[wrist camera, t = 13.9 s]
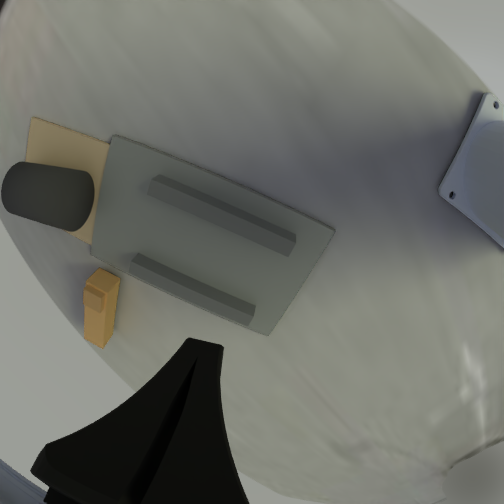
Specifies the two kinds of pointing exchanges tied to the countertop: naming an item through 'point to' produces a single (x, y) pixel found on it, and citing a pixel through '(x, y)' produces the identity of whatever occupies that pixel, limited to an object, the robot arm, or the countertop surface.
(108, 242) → the board
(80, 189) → the dark grey cylinder
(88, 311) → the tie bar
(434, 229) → the countertop surface
